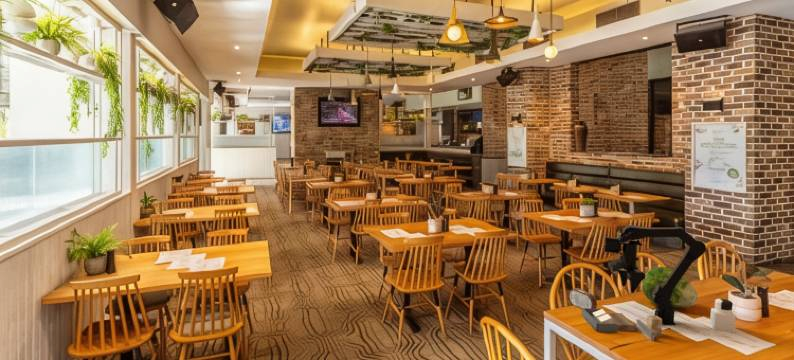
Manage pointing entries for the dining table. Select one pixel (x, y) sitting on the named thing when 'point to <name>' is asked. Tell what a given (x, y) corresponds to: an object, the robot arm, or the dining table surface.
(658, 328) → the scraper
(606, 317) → the tile
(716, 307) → the medicine bottle
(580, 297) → the tin
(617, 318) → the board
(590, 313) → the tray
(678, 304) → the lettuce
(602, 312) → the tile
